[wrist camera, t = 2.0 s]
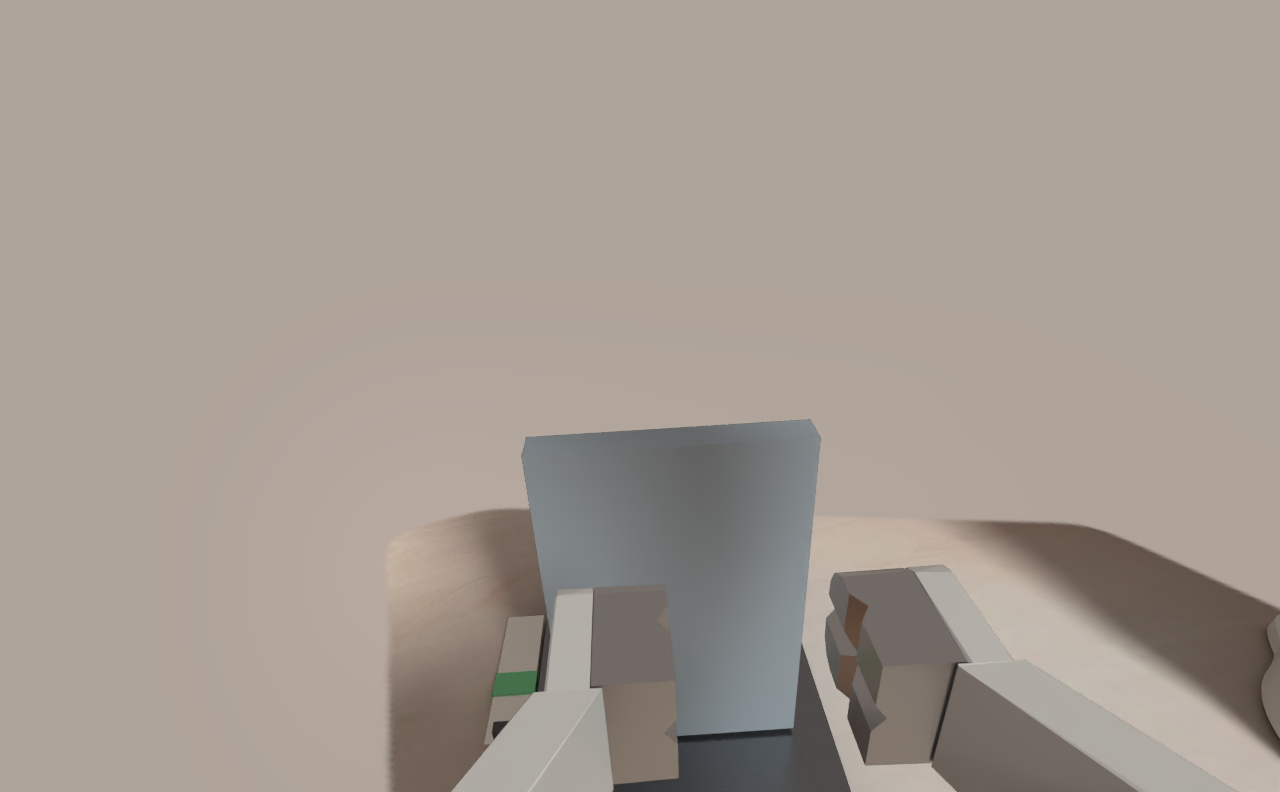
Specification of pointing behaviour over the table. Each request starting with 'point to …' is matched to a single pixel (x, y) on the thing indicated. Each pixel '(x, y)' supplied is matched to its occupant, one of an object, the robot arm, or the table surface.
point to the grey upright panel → (691, 550)
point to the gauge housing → (708, 763)
